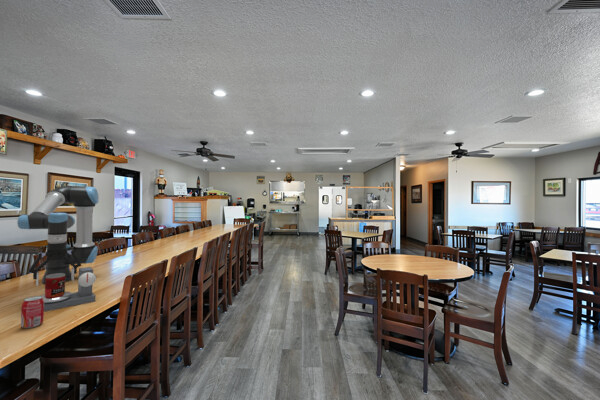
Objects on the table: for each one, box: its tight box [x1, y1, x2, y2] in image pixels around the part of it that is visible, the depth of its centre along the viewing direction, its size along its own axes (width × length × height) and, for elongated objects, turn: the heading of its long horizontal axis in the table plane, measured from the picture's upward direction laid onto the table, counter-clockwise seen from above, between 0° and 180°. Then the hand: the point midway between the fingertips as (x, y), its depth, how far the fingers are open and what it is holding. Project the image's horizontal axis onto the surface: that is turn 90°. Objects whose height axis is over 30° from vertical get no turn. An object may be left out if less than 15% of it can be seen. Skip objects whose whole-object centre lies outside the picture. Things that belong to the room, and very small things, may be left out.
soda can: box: [20, 295, 45, 329], centre depth 116 cm, size 7×7×12 cm
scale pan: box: [41, 291, 73, 303], centre depth 138 cm, size 14×14×2 cm
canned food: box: [44, 273, 66, 299], centre depth 138 cm, size 8×8×11 cm
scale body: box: [44, 266, 97, 313], centre depth 141 cm, size 14×24×17 cm, turn 138°
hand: (55, 282), depth 138 cm, fingers open, 13 cm apart
